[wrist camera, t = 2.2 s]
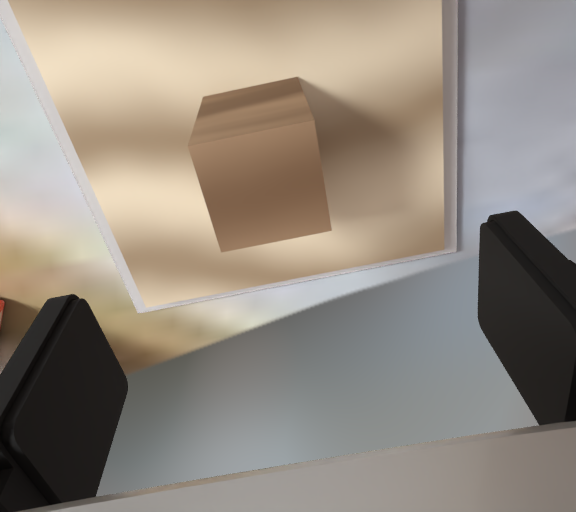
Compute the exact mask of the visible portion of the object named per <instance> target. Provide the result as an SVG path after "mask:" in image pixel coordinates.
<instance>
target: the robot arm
mask: <svg viewBox="0 0 576 512" xmlns="http://www.w3.org/2000/svg"><path fill="white" fill-rule="evenodd" d="M478 320H479V324H480V327H481V329H482V331H483V333H484V334H485V336H486V338H487V339H488V341H489V343H490V344H491V346H492V347H493V349H494V351H495V353H496V354H497V356H498V357H499V359H500V361H501V362H502V364H503V366H504V367H505V369H506V371H507V372H508V374H509V376H510V377H511V379H512V381H513V382H514V384H515V385H516V387H517V389H518V390H519V392H520V394H521V396H522V397H523V399H524V400H525V402H526V404H527V405H528V407H529V409H530V410H531V412H532V414H533V415H534V417H535V419H536V420H537V422H538V424H539V426H532V427H525V428H518V429H511V430H504V431H497V432H490V433H483V434H476V435H469V436H463V437H457V438H451V439H445V440H438V441H431V442H425V443H419V444H413V445H406V446H400V447H394V448H388V449H382V450H375V451H368V452H363V453H356V454H350V455H344V456H338V457H332V458H326V459H319V460H313V461H307V462H301V463H295V464H288V465H283V466H277V467H270V468H265V469H258V470H252V471H246V472H240V473H234V474H228V475H222V476H216V477H211V478H204V479H198V480H192V481H186V482H180V483H175V484H169V485H163V486H157V487H151V488H146V489H140V490H134V491H127V492H122V493H116V494H110V495H104V496H99V497H96V493H97V490H98V487H99V484H100V480H101V477H102V474H103V470H104V467H105V464H106V461H107V457H108V454H109V451H110V447H111V444H112V441H113V437H114V434H115V431H116V428H117V425H118V421H119V418H120V415H121V411H122V408H123V405H124V402H125V398H126V395H127V391H128V383H127V379H126V376H125V374H124V372H123V370H122V368H121V366H120V364H119V362H118V360H117V359H116V357H115V355H114V353H113V351H112V349H111V347H110V345H109V343H108V341H107V339H106V337H105V335H104V333H103V331H102V329H101V328H100V326H99V324H98V322H97V320H96V318H95V316H94V314H93V312H92V310H91V308H90V306H89V304H88V303H87V301H86V300H85V299H79V297H78V296H76V295H74V294H71V295H66V296H60V297H55V298H50V299H48V300H47V301H46V302H45V304H44V306H43V307H42V309H41V310H40V312H39V314H38V315H37V317H36V318H35V320H34V322H33V323H32V325H31V326H30V328H29V330H28V331H27V333H26V334H25V336H24V338H23V339H22V341H21V342H20V344H19V346H18V347H17V349H16V350H15V352H14V354H13V355H12V357H11V358H10V360H9V362H8V363H7V365H6V366H5V368H4V370H3V371H2V373H1V374H0V512H576V264H575V263H574V262H572V261H571V260H568V259H567V258H566V257H565V256H564V255H563V254H562V253H561V252H560V251H559V250H558V249H557V248H556V247H555V246H554V245H553V244H552V243H551V242H549V241H548V240H547V239H546V238H545V237H544V236H543V235H542V234H541V233H540V232H539V231H538V230H537V229H536V228H535V227H534V226H533V225H532V224H531V223H530V222H529V221H528V220H527V219H526V218H525V217H524V216H523V215H522V214H520V213H519V212H518V211H510V212H505V213H500V214H495V215H490V216H489V218H488V220H487V222H486V223H482V224H481V226H480V248H479V286H478Z"/></svg>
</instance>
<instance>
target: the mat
mask: <svg viewBox="0 0 576 512" xmlns="http://www.w3.org/2000/svg"><path fill="white" fill-rule="evenodd" d="M0 18H1V20H2V22H3V24H4V26H5V29H6V31H7V33H8V35H9V37H10V39H11V41H12V44H13V46H14V48H15V50H16V52H17V54H18V56H19V59H20V61H21V63H22V65H23V67H24V69H25V72H26V74H27V76H28V78H29V80H30V82H31V84H32V87H33V89H34V91H35V93H36V95H37V97H38V99H39V102H40V104H41V106H42V108H43V110H44V112H45V114H46V117H47V119H48V121H49V123H50V125H51V127H52V130H53V132H54V134H55V136H56V138H57V140H58V142H59V145H60V147H61V149H62V151H63V153H64V155H65V157H66V160H67V162H68V164H69V166H70V168H71V170H72V172H73V175H74V177H75V179H76V181H77V183H78V185H79V188H80V190H81V192H82V194H83V196H84V198H85V200H86V203H87V205H88V207H89V209H90V211H91V213H92V215H93V218H94V220H95V222H96V224H97V226H98V228H99V230H100V233H101V235H102V237H103V239H104V241H105V243H106V246H107V248H108V250H109V252H110V254H111V256H112V258H113V261H114V263H115V265H116V267H117V269H118V271H119V273H120V276H121V278H122V280H123V282H124V284H125V286H126V288H127V291H128V293H129V295H130V297H131V299H132V301H133V304H134V306H135V308H136V310H137V312H138V313H143V312H149V311H154V310H159V309H164V308H169V307H174V306H179V305H185V304H190V303H195V302H200V301H205V300H210V299H216V298H221V297H226V296H231V295H236V294H241V293H246V292H252V291H257V290H262V289H267V288H272V287H277V286H283V285H288V284H293V283H298V282H303V281H308V280H314V279H319V278H324V277H329V276H334V275H339V274H344V273H350V272H355V271H360V270H365V269H370V268H375V267H381V266H386V265H391V264H396V263H401V262H406V261H412V260H417V259H422V258H427V257H432V256H437V255H442V254H448V253H453V252H457V78H458V0H442V67H443V159H444V250H441V251H435V252H430V253H425V254H420V255H415V256H410V257H405V258H399V259H394V260H389V261H384V262H379V263H374V264H368V265H363V266H358V267H353V268H348V269H343V270H338V271H332V272H327V273H322V274H317V275H312V276H307V277H302V278H296V279H291V280H286V281H281V282H276V283H271V284H266V285H260V286H255V287H250V288H245V289H240V290H235V291H230V292H224V293H219V294H214V295H209V296H204V297H199V298H193V299H188V300H183V301H178V302H173V303H168V304H163V305H157V306H152V307H147V308H146V306H145V304H144V302H143V300H142V298H141V295H140V293H139V291H138V289H137V286H136V284H135V282H134V280H133V278H132V275H131V273H130V271H129V269H128V266H127V264H126V262H125V260H124V258H123V255H122V253H121V251H120V249H119V246H118V244H117V242H116V240H115V238H114V235H113V233H112V231H111V229H110V226H109V224H108V222H107V220H106V218H105V215H104V213H103V211H102V209H101V206H100V204H99V202H98V200H97V198H96V195H95V193H94V191H93V189H92V186H91V184H90V182H89V180H88V178H87V175H86V173H85V171H84V169H83V166H82V164H81V162H80V160H79V158H78V155H77V153H76V151H75V149H74V146H73V144H72V142H71V140H70V138H69V135H68V133H67V131H66V129H65V126H64V124H63V122H62V120H61V118H60V115H59V113H58V111H57V109H56V106H55V104H54V102H53V100H52V98H51V95H50V93H49V91H48V89H47V86H46V84H45V82H44V80H43V78H42V75H41V73H40V71H39V69H38V66H37V64H36V62H35V60H34V58H33V55H32V53H31V51H30V49H29V46H28V44H27V42H26V40H25V38H24V35H23V33H22V31H21V29H20V26H19V24H18V22H17V20H16V18H15V15H14V13H13V11H12V9H11V6H10V4H9V2H8V0H0Z"/></svg>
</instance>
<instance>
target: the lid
mask: <svg viewBox="0 0 576 512" xmlns="http://www.w3.org/2000/svg"><path fill="white" fill-rule="evenodd" d="M8 2H9V4H10V6H11V9H12V11H13V13H14V15H15V18H16V20H17V22H18V24H19V26H20V29H21V31H22V33H23V35H24V38H25V40H26V42H27V44H28V46H29V49H30V51H31V53H32V55H33V58H34V60H35V62H36V64H37V66H38V69H39V71H40V73H41V75H42V78H43V80H44V82H45V84H46V86H47V89H48V91H49V93H50V95H51V98H52V100H53V102H54V104H55V106H56V109H57V111H58V113H59V115H60V118H61V120H62V122H63V124H64V126H65V129H66V131H67V133H68V135H69V138H70V140H71V142H72V144H73V146H74V149H75V151H76V153H77V155H78V158H79V160H80V162H81V164H82V166H83V169H84V171H85V173H86V175H87V178H88V180H89V182H90V184H91V186H92V189H93V191H94V193H95V195H96V198H97V200H98V202H99V204H100V206H101V209H102V211H103V213H104V215H105V218H106V220H107V222H108V224H109V226H110V229H111V231H112V233H113V235H114V238H115V240H116V242H117V244H118V246H119V249H120V251H121V253H122V255H123V258H124V260H125V262H126V264H127V266H128V269H129V271H130V273H131V275H132V278H133V280H134V282H135V284H136V286H137V289H138V291H139V293H140V295H141V298H142V300H143V302H144V304H145V306H146V308H147V307H152V306H157V305H163V304H168V303H173V302H178V301H183V300H188V299H193V298H199V297H204V296H209V295H214V294H219V293H224V292H230V291H235V290H240V289H245V288H250V287H255V286H260V285H266V284H271V283H276V282H281V281H286V280H291V279H296V278H302V277H307V276H312V275H317V274H322V273H327V272H332V271H338V270H343V269H348V268H353V267H358V266H363V265H368V264H374V263H379V262H384V261H389V260H394V259H399V258H405V257H410V256H415V255H420V254H425V253H430V252H435V251H441V250H444V159H443V67H442V0H8Z"/></svg>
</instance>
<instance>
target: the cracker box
mask: <svg viewBox="0 0 576 512" xmlns="http://www.w3.org/2000/svg"><path fill="white" fill-rule="evenodd" d="M4 304H5V302H4V301H3V300H0V328H1V322H2V315H3V309H4Z"/></svg>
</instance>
